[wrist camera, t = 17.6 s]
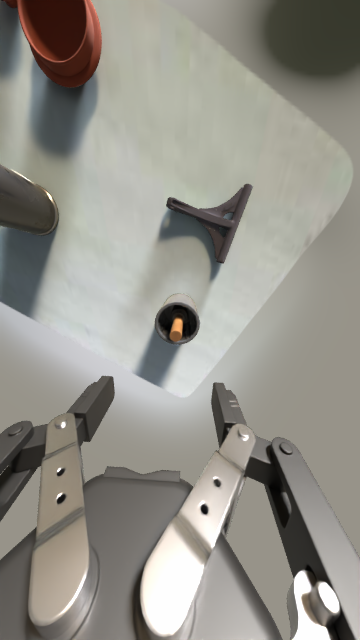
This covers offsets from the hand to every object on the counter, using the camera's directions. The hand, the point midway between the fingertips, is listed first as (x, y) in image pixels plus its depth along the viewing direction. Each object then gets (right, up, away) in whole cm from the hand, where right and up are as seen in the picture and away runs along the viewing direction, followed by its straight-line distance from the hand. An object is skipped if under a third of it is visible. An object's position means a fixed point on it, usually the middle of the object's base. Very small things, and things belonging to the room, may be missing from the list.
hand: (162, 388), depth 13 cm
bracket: (+6, +27, +21) cm, 35 cm away
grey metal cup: (+1, +8, +27) cm, 28 cm away
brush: (+1, +8, +26) cm, 28 cm away
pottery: (-20, +53, +14) cm, 58 cm away
